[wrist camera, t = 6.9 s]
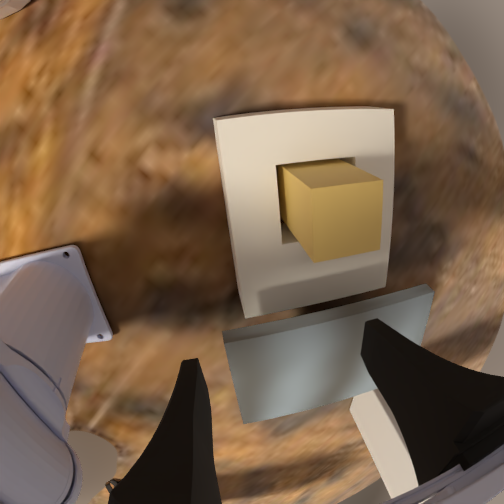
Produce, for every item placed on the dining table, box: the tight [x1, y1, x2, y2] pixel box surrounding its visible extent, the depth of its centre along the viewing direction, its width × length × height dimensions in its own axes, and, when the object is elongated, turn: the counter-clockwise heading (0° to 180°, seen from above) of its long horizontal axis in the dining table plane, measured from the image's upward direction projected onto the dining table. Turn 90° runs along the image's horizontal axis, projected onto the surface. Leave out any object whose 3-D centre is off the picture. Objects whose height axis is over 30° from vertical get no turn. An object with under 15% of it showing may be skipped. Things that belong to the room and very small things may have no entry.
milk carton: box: [350, 388, 433, 504], centre depth 23 cm, size 7×7×19 cm
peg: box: [276, 158, 383, 263], centre depth 17 cm, size 4×4×7 cm
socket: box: [213, 106, 395, 318], centre depth 19 cm, size 10×12×3 cm
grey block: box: [222, 284, 434, 424], centre depth 22 cm, size 13×9×7 cm
